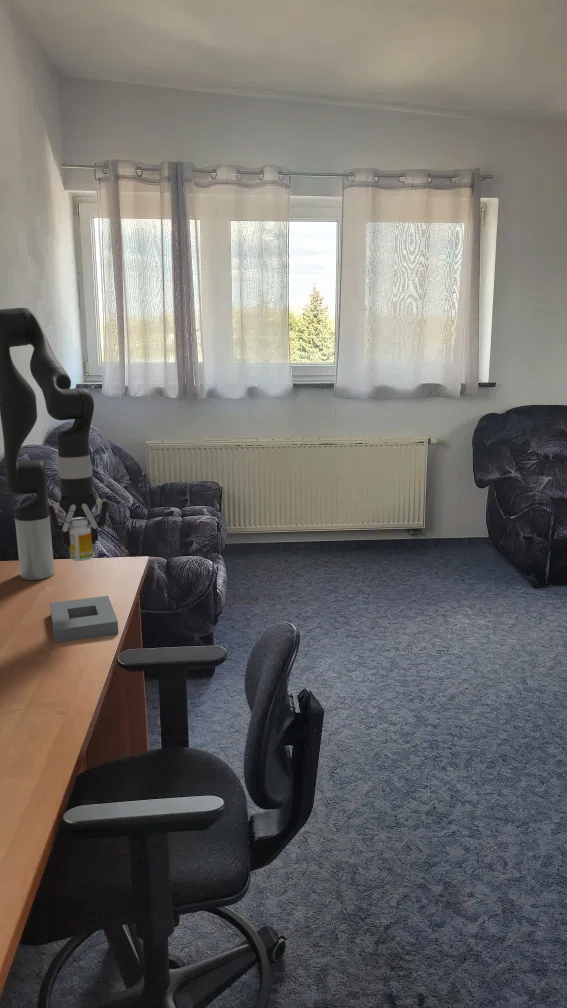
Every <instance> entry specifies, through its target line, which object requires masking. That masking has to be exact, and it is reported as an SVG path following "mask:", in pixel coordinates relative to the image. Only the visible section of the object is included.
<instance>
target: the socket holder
mask: <svg viewBox="0 0 567 1008" xmlns="http://www.w3.org/2000/svg"><path fill="white" fill-rule="evenodd" d="M49 606H50V607H49V608H50V617H51V618H50V619H51V625H52V632H53V637H54V638H53V639H54V644H55V643H56V644H57V643H63V642H64V643H65V642H69V641H77V640H84V639H90V638H97V637H105V636H111V635H117V634H119V621H118V619H117V616H116V613H115V611H114V608H113V604H112V602H111V600H110V598H109V595H103V596H101V595H100V596H96V597H88V598H79V599H71V600H70V599H69V600H64V601H55V602H49Z"/></svg>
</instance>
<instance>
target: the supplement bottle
mask: <svg viewBox="0 0 567 1008" xmlns="http://www.w3.org/2000/svg"><path fill="white" fill-rule="evenodd" d="M88 525H89V519H88V518H87V517H77V518H72V519H71V522H70V526H71V527H69V528H68V531H69V543H70V546H68V547H69V556H70V560H71V561H74V562H83V561H88V560H91V559H93V558H94V544H92V531H91V527H90V526H88Z"/></svg>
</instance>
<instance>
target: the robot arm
mask: <svg viewBox="0 0 567 1008" xmlns="http://www.w3.org/2000/svg"><path fill="white" fill-rule="evenodd" d="M28 345H31V346H32V347H33V351H32V354H31V357H30V363H29V370H30V373H31V377H33V379H34V381H35V383H36V384H37V385H38V387H39V388H40V390H41V392H42V395H43V399H44V403H45V407H46V411H47V414H48V415H49V416H50V417H51V418H52V419H54V420H56V421H69V420H74V421H73V423H72V425H71V427H69V428H67V429H64V430H61V431H59V432H58V433H57V438H56V442H57V452H58V454H57V456H58V462H57V463H58V464H57V465H58V467H57V468H58V471H57V473H58V478H59V479H58V480H59V493H60V494H59V495H60V499H59V501H58V502H56V503H49V498H48V495H49V494H48V473H47V466H46V463H45V462H44V461H43V460H40V459H39V460H38V459H34V460H33V459H31V460H19V461H18V456H19V453H20V450H21V449H22V446H23V445H24V442H25V441H26V440H27V437H28V436H29V435H30V433H31V431H33V428H34V426H35V424H36V423H37V419H38V410H37V409H38V406H37V397H36V393H35V390H34V389H33V387H32V386H31V384H30V383H29V382H28V381H27V380H26V378H25V377H24V376H23V375H22V374H21V373H20V371H19V370H18V369H17V367H16V365H15V364H14V361H13V359H12V356H11V350H10V348H14V347H23V346H28ZM71 386H72V380H71V378H70V376H69V374H68V373H67V372H66V370H65V369H64V367H63V366H62V365H61V363H60V362H59V360H58V359H57V357H56V356H55V353H54V352H53V349H52V348H51V345H50V343H49V340H48V338H47V335H46V333H45V331H44V330H43V327H42V325H41V323H40V322H39V319H38V318H37V315H36V314H35V313H34V312H33V310H31V309H30V308H27V307H14V308H13V307H12V308H3V309H0V421H1V428H2V429H1V430H2V437H3V449H4V450H3V451H4V455H3V456H4V479H5V485H6V490H7V492H8V493H9V494H10V495H16V496H17V495H29V494H35V496H34V497H33V498H32V499H30V500H29V501H27V502H25V503H23V504H21V505H18V506H17V507H15V509H14V523H15V532H16V534H15V535H16V543H17V553H18V562H19V563H18V564H19V573H20V574H19V575H20V576H19V577H20V578H21V579H22V580H25V581H38V580H44V579H48V578H50V577H52V576H54V574H55V568H54V567H55V566H54V556H53V555H54V554H53V544H52V542H53V541H52V531H51V530H52V529H51V523H52V525H53V528H54V530H58V531H61V534H62V544H63V545H66V547H67V548H68V547H69V546H70V543H69V528H70V527H69V526H70V525H71V519H73V518H78V517H85V518H88V522H89V523H90V525H91V527H90V528H91V531H92V544H93V545H95V544H96V542H98V541H99V533H98V529H99V527H101V526H105V524H106V521H107V520H106V519H107V513H108V506H109V505H108V504H109V503H108V501H107V500H106V499H105V498H103V499H96V498H95V494H94V493H95V492H94V483H93V482H94V481H93V466H92V462H91V456H90V454H91V453H90V444H89V443H90V441H89V437H90V431H91V425H92V421H93V416H94V410H95V402H94V397H93V395H92V394H91V392H90V391H89V390H88V389H87V388H82V387H79V388H77V387H75V388H71ZM96 505H97V507H98V509H99V517H98V519H97V520H95V517H94V516H93V514H92V511H93V510H94V508H95V506H96ZM59 508H61V510H62V511H64V513H65V516H64V518H63V521H62V523H59V521H58V517H57V514H58V512H59ZM56 513H57V514H56ZM50 519H51V520H50Z"/></svg>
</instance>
